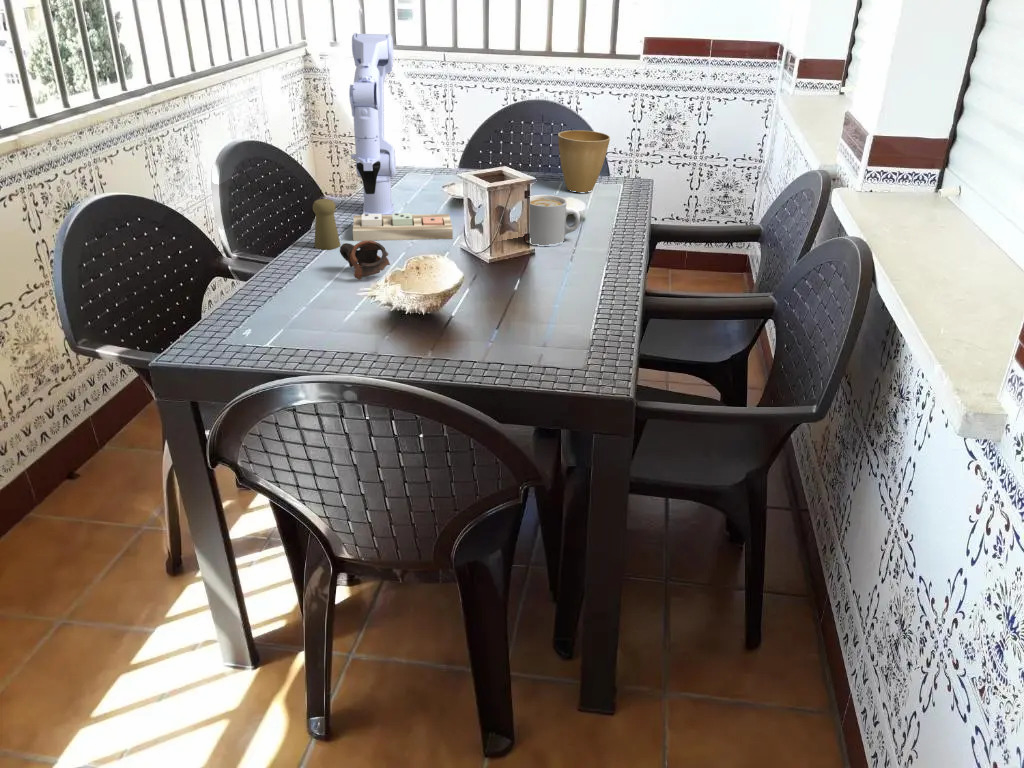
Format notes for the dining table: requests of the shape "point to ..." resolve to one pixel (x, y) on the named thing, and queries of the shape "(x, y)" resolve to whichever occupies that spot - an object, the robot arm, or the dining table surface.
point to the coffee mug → (550, 219)
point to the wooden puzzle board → (403, 229)
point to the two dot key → (371, 220)
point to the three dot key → (402, 219)
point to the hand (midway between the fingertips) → (370, 193)
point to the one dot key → (432, 221)
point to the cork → (325, 225)
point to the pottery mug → (365, 258)
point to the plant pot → (582, 158)
